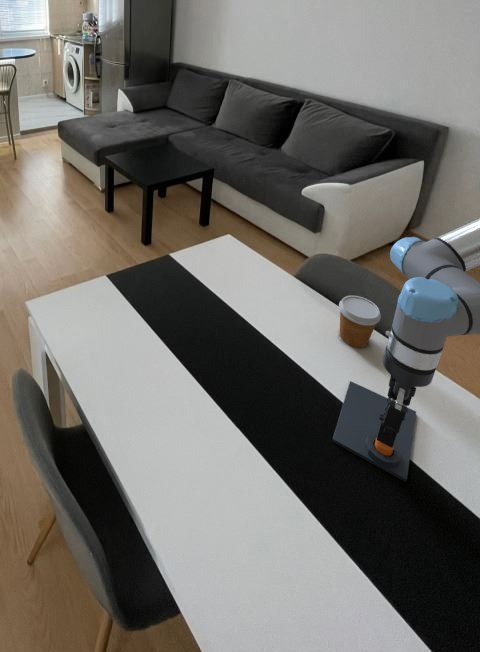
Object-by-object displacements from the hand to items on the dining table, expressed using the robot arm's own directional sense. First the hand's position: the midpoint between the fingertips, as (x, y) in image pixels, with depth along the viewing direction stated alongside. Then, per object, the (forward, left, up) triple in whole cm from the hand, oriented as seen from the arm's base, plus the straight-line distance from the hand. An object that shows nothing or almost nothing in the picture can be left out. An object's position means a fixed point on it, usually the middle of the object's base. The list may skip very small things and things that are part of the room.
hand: (384, 441), depth 87 cm
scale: (-4, -5, -6) cm, 8 cm away
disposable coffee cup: (-19, -27, -6) cm, 33 cm away
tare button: (0, 0, -2) cm, 2 cm away
